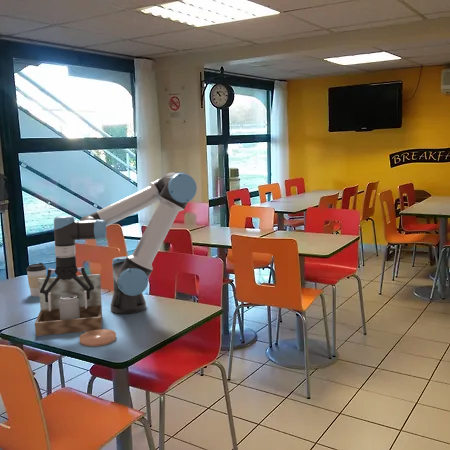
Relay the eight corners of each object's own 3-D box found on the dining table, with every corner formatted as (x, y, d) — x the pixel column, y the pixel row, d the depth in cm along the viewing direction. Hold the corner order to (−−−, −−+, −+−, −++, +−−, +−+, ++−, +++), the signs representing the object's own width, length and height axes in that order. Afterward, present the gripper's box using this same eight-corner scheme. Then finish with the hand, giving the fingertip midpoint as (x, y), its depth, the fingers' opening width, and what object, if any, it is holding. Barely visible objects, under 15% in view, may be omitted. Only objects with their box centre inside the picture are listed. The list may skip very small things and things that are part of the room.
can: (84, 324, 200) (82, 295, 199) (69, 330, 194) (67, 300, 192) (71, 321, 204) (69, 292, 203) (56, 327, 198) (54, 297, 196)
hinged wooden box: (102, 316, 210) (99, 274, 208) (101, 329, 194) (98, 284, 191) (41, 321, 205) (38, 278, 203) (35, 336, 189) (31, 289, 186)
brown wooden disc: (116, 331, 192) (115, 327, 192) (116, 344, 179) (116, 340, 179) (80, 334, 189) (80, 331, 189) (78, 347, 177) (78, 343, 176)
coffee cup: (36, 298, 238) (34, 267, 236) (24, 295, 243) (21, 265, 241) (52, 293, 246) (49, 263, 244) (40, 290, 251) (37, 261, 248)
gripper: (30, 259, 189) (33, 313, 192) (98, 256, 194) (100, 309, 197) (33, 255, 196) (36, 308, 199) (99, 252, 201) (101, 303, 204)
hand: (68, 308), depth 198 cm, fingers open, 13 cm apart
